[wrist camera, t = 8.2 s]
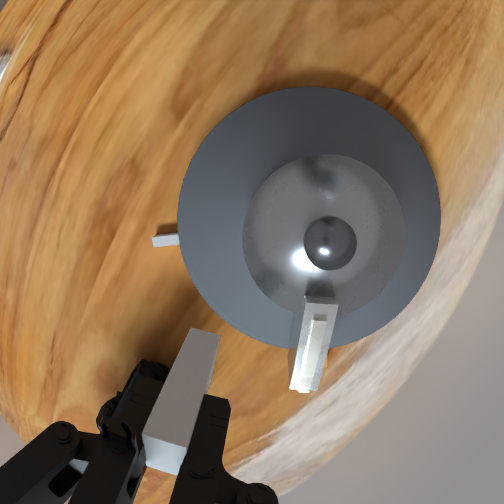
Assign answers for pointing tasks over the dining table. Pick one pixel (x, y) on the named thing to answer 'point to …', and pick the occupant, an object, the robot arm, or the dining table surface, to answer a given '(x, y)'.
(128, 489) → the robot arm
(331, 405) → the dining table surface
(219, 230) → the dial plate
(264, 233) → the dial
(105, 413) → the tool
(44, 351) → the dining table surface
